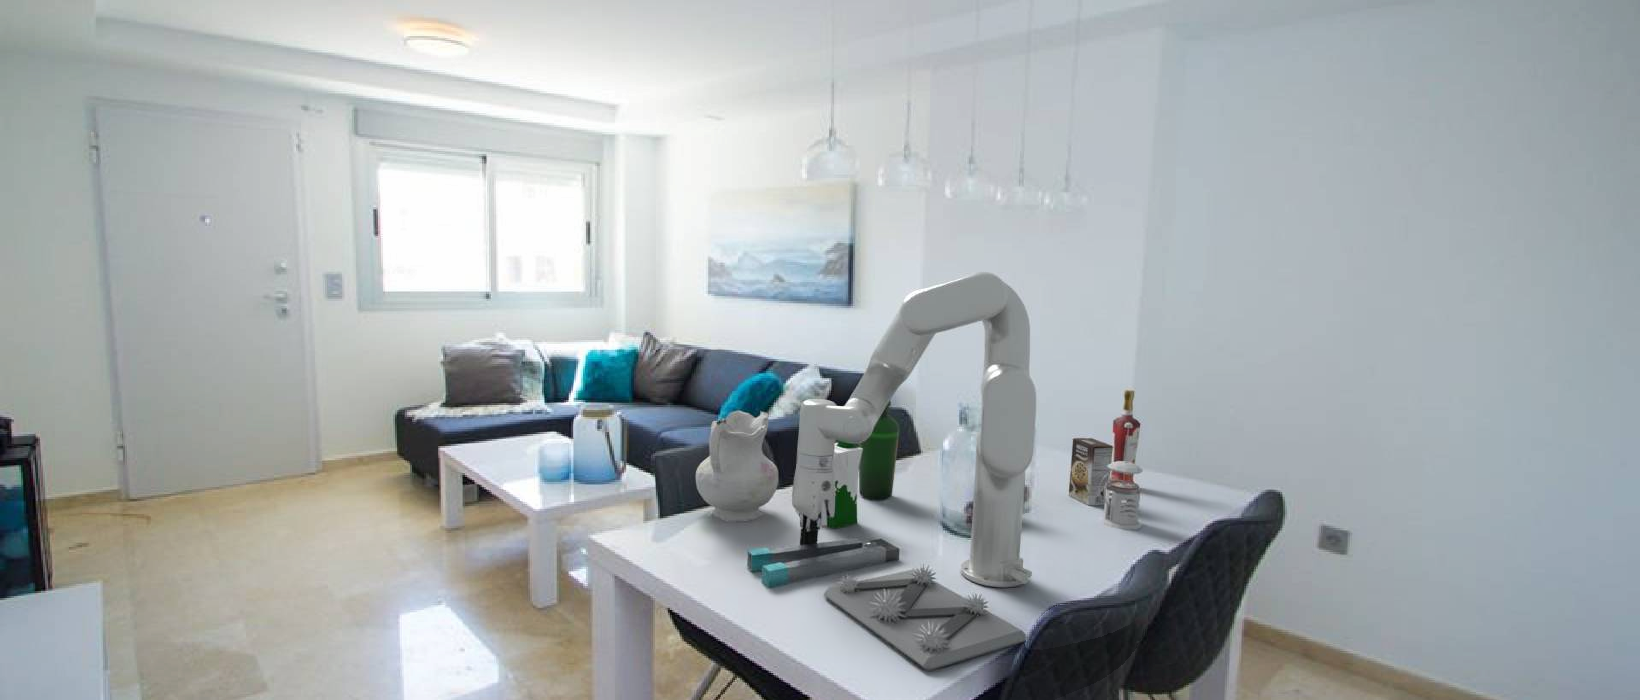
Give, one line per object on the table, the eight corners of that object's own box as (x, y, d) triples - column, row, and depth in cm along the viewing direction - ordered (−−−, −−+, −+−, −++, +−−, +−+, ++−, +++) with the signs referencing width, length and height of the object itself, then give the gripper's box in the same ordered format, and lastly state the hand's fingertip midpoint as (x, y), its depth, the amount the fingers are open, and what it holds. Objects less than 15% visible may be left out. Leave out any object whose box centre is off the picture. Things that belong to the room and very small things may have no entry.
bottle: (902, 495, 202) (908, 391, 199) (884, 504, 193) (890, 396, 190) (867, 487, 208) (872, 386, 205) (847, 496, 199) (853, 390, 196)
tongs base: (880, 549, 162) (881, 534, 162) (899, 559, 157) (900, 544, 156) (752, 574, 146) (753, 558, 146) (768, 587, 140) (769, 570, 140)
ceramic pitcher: (760, 538, 168) (773, 429, 166) (676, 524, 171) (687, 416, 168) (780, 509, 190) (792, 412, 187) (705, 496, 193) (716, 400, 190)
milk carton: (862, 523, 178) (867, 439, 176) (834, 531, 172) (838, 444, 170) (837, 513, 185) (841, 432, 183) (809, 520, 179) (812, 437, 177)
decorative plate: (1029, 646, 124) (1033, 604, 123) (926, 678, 112) (929, 632, 111) (914, 578, 149) (916, 543, 148) (820, 599, 138) (822, 561, 137)
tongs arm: (867, 550, 160) (868, 535, 160) (878, 558, 156) (878, 543, 156) (747, 565, 149) (747, 550, 149) (754, 574, 145) (755, 558, 145)
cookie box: (1067, 495, 208) (1071, 437, 207) (1087, 494, 210) (1091, 437, 209) (1088, 505, 200) (1093, 445, 198) (1108, 504, 202) (1113, 444, 200)
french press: (1150, 527, 184) (1160, 425, 182) (1113, 531, 180) (1122, 427, 177) (1121, 514, 193) (1129, 417, 191) (1084, 518, 189) (1092, 419, 186)
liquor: (1115, 481, 225) (1123, 387, 223) (1139, 487, 220) (1148, 391, 217) (1102, 484, 221) (1110, 389, 218) (1126, 491, 215) (1135, 393, 212)
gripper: (850, 468, 150) (843, 558, 152) (811, 450, 162) (805, 533, 165) (818, 471, 146) (811, 563, 148) (781, 452, 158) (774, 537, 161)
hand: (808, 547), depth 156 cm, fingers closed
